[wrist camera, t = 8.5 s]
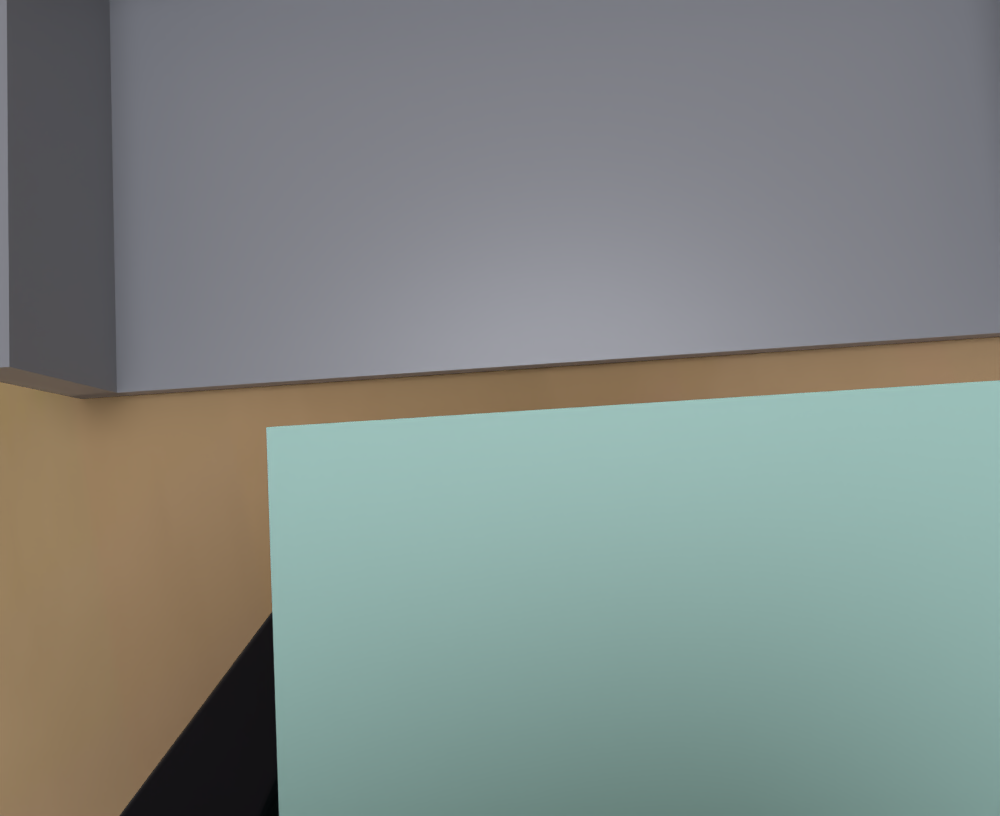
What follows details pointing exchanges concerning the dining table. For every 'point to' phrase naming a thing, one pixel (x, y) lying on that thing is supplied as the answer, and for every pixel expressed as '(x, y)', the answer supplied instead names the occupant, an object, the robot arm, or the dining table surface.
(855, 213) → the open crate
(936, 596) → the green block
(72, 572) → the dining table surface
